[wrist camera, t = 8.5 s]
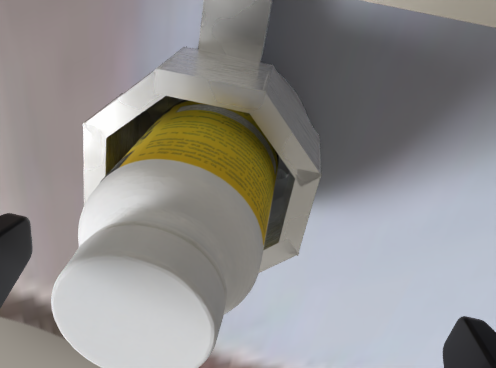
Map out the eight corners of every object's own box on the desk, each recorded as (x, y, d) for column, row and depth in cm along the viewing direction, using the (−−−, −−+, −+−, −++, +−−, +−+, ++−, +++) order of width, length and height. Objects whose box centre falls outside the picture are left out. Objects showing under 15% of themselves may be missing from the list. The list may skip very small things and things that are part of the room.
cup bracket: (358, -16, 16) (374, -3, 12) (289, 237, 22) (284, 302, 18) (136, -61, 16) (80, -63, 12) (124, 201, 22) (83, 258, 18)
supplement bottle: (162, 74, 17) (17, 195, 9) (295, 109, 17) (279, 266, 9) (146, 189, 20) (22, 369, 11) (261, 220, 20) (224, 424, 11)
